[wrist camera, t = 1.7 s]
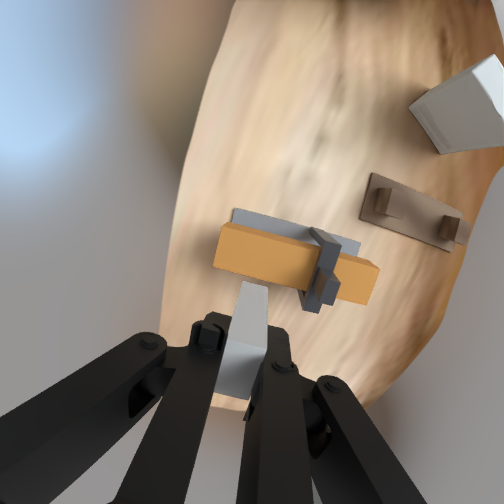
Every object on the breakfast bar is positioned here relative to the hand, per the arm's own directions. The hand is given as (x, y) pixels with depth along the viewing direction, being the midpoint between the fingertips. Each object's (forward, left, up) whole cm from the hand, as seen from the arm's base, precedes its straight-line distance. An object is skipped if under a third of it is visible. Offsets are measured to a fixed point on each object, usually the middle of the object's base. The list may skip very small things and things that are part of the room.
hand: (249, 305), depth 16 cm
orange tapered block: (0, +4, -14) cm, 14 cm away
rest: (-9, +19, -18) cm, 28 cm away
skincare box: (-23, +19, -19) cm, 35 cm away
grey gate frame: (0, +6, -18) cm, 19 cm away
